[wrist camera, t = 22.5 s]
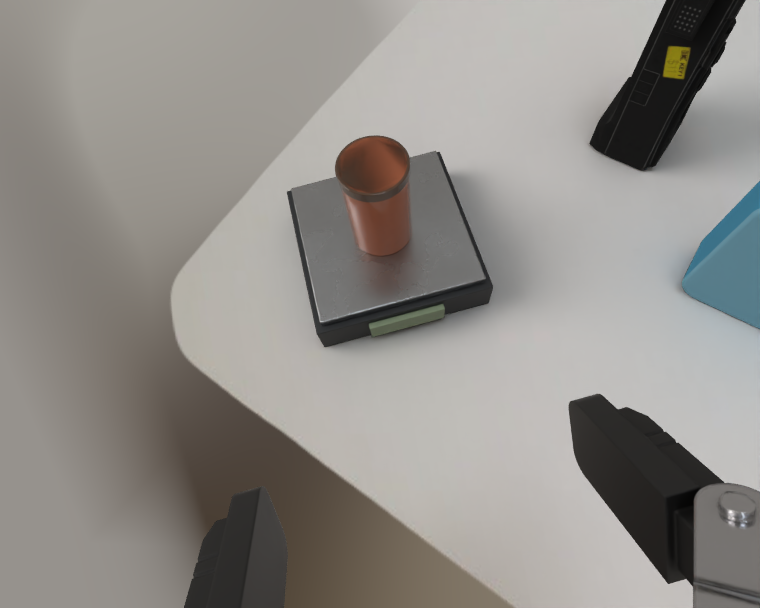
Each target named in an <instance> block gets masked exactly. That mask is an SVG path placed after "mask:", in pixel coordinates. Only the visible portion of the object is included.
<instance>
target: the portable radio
mask: <svg viewBox="0 0 760 608" xmlns="http://www.w3.org/2000/svg"><path fill="white" fill-rule="evenodd" d="M744 2H745V0H666V2H665V4H664V6H663V8H662V11H661V13H660V15H659V17H658V19H657V22H656V24H655V26H654V28H653V30H652V33H651V35H650V37H649V39H648V41H647V44H646V46H645V48H644V50H643V52H642V55H641V57H640V59H639V61H638V63H637V66H636V68H635V70H634V72H633V74H632V77H629V78H628V79H627V81H626V82H625V84H624V85H623V87H622V88H621V90H620V91H619V92H618V94H617V95H616V97H615V98H614V100H613V101H612V103H611V104H610V106H609V107H608V109H607V110H606V111H605V113H604V114H603V116H602V117H601V119H600V120H599V122H598V124H597V127H596V129H595V131H594V134H593V136H592V138H591V141H590V143H589V144H590V145H591V146H593V147H594V148H595V149H596V150H597V151H599V152H601V153H603V154H605V155H607V156H609V157H611V158H614V159H616V160H619V161H621V162H623V163H626V164H628V165H630V166H633V167H635V168H637V169H640V170H645V169H647V168H648V167H653V166H655V165H656V164H657V162H658V161H659V159H660V158H661V156H662V154H663V153H664V151H665V150H666V148H667V147H668V145H669V143H670V142H671V140H672V138H673V137H674V135H675V133H676V131H677V130H678V128H679V126H680V125H681V123H682V121H683V119H684V117H685V115H686V113H687V111H688V109H689V107H690V104H691V102H692V100H693V99H694V97H695V95H696V93H697V92H698V91H699V90H700V89H701V88H702V86H703V85H704V83H705V82H706V80H707V78H708V76H709V75H710V73H711V67H713V66H714V64H716V63H717V62H718V60H719V59H720V57H721V55H722V53H723V52H724V50H725V45H726V42H725V41H726V39H727V38H728V36H729V34H730V33H731V31H732V29H733V27H734V25H735V24H736V19H735V18H736V16H737V14H738V13H739V11H740V9H741V7H742V6H743V4H744Z"/></svg>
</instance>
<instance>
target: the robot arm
mask: <svg viewBox="0 0 760 608" xmlns="http://www.w3.org/2000/svg"><path fill="white" fill-rule="evenodd" d="M569 415H570V424H571V432H572V440H573V449H574V454H575V457H576V460H577V463H578V465H579V467H580V469H581V471H582V473H583V474H584V475H585V477H586V478H587V479H588V481H589V482H590V483H591V485H592V486H593V487H594V488H595V490H596V491H597V492H598V494H599V495H600V496H601V498H602V499H603V500H604V501H605V503H606V504H607V505H608V507H609V508H610V509H611V510H612V512H613V513H614V514H615V516H616V517H617V518H618V520H619V521H620V522H621V523H622V525H623V526H624V527H625V529H626V530H627V531H628V532H629V534H630V535H631V536H632V538H633V539H634V540H635V542H636V543H637V544H638V545H639V547H640V548H641V549H642V551H643V552H644V553H645V555H646V556H647V557H648V558H649V560H650V561H651V562H652V564H653V565H654V566H655V567H656V569H657V570H658V571H659V573H660V574H661V575H662V577H663V578H664V579H665V580H666V582H667V583H668V584H670V583H673V582H677V581H680V580H684V579H687V580H688V581H689V582H690V584H691V585H692V586H693V608H760V492H759V491H757V490H754V489H752V488H749V487H746V486H743V485H738V484H732V483H724V482H723V481H722V480H721V479H720V478H719V477H717V476H716V475H715V474H714V473H713V472H712V471H710V470H709V469H708V468H707V467H706V466H705V465H703V464H702V463H701V462H700V461H699V460H698V459H697V458H695V457H694V456H693V455H692V454H691V453H690V452H688V451H687V450H686V449H685V448H684V447H683V446H682V445H680V444H679V443H676V441H675V439H673V438H672V437H671V436H670V435H669V434H668V433H667V432H664V431H663V429H662V428H661V427H660V426H658V425H657V424H656V423H655V422H654V421H653V420H652V419H650V418H649V417H648V416H646V415H644V414H642V413H639V412H637V411H635V410H632V409H630V408H628V407H625V408H622V409H616V408H615V407H614V406H613V405H612V404H611V403H610V402H609V401H608V400H607V399H606V398H605V397H604V396H602V395H601V394H595V395H592V396H588V397H584V398H581V399H577V400H574V401H571V402H570V403H569ZM287 559H288V552H287V543H286V538H285V534H284V531H283V528H282V526H281V523H280V521H279V519H278V516H277V514H276V512H275V509H274V506H273V504H272V502H271V499H270V496H269V494H268V492H267V490H266V488H265V487H264V486H261V487H258V488H254V489H251V490H247V491H244V492H240V493H237V494H234V495H233V497H232V500H231V504H230V508H229V513H228V517H227V518H225V519H222V520H218V521H216V522H215V523H214V525H213V526H212V528H211V529H210V531H209V532H208V534H207V535H206V537H205V538H204V540H203V542H202V546H201V549H200V553H199V557H198V563H196V567H195V570H194V574H193V576H194V579H192V581H191V585H190V588H189V592H188V595H187V599H186V602H185V606H184V608H284V599H285V586H286V572H287Z"/></svg>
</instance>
